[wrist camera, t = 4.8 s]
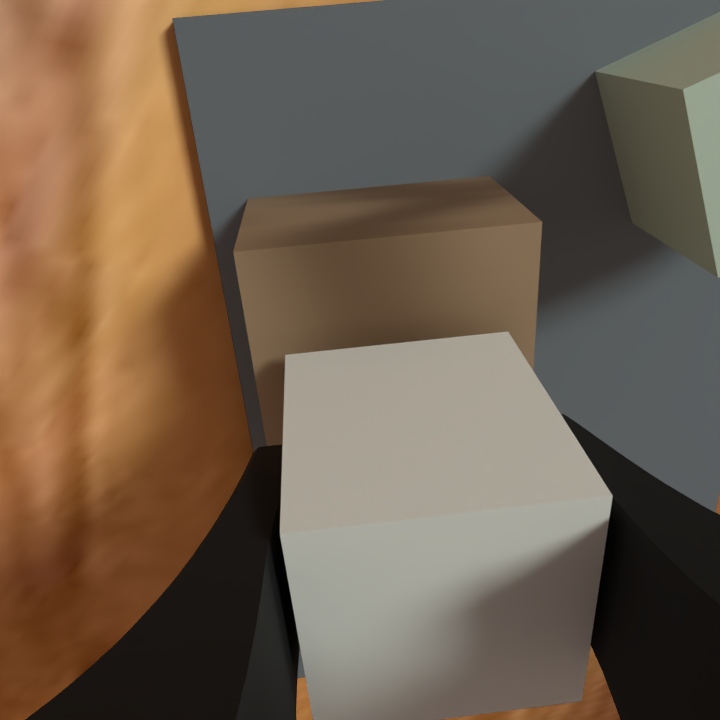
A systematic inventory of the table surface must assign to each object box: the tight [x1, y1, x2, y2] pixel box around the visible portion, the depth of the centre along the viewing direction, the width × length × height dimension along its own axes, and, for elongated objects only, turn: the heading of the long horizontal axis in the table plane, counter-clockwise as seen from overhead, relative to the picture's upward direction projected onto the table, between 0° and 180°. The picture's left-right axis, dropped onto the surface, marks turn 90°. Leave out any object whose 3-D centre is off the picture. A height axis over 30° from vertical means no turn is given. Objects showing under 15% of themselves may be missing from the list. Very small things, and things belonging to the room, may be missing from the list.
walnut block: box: [233, 176, 542, 446], centre depth 16 cm, size 6×8×4 cm
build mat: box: [172, 0, 720, 678], centre depth 20 cm, size 15×22×1 cm
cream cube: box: [280, 332, 613, 720], centre depth 12 cm, size 4×4×5 cm
